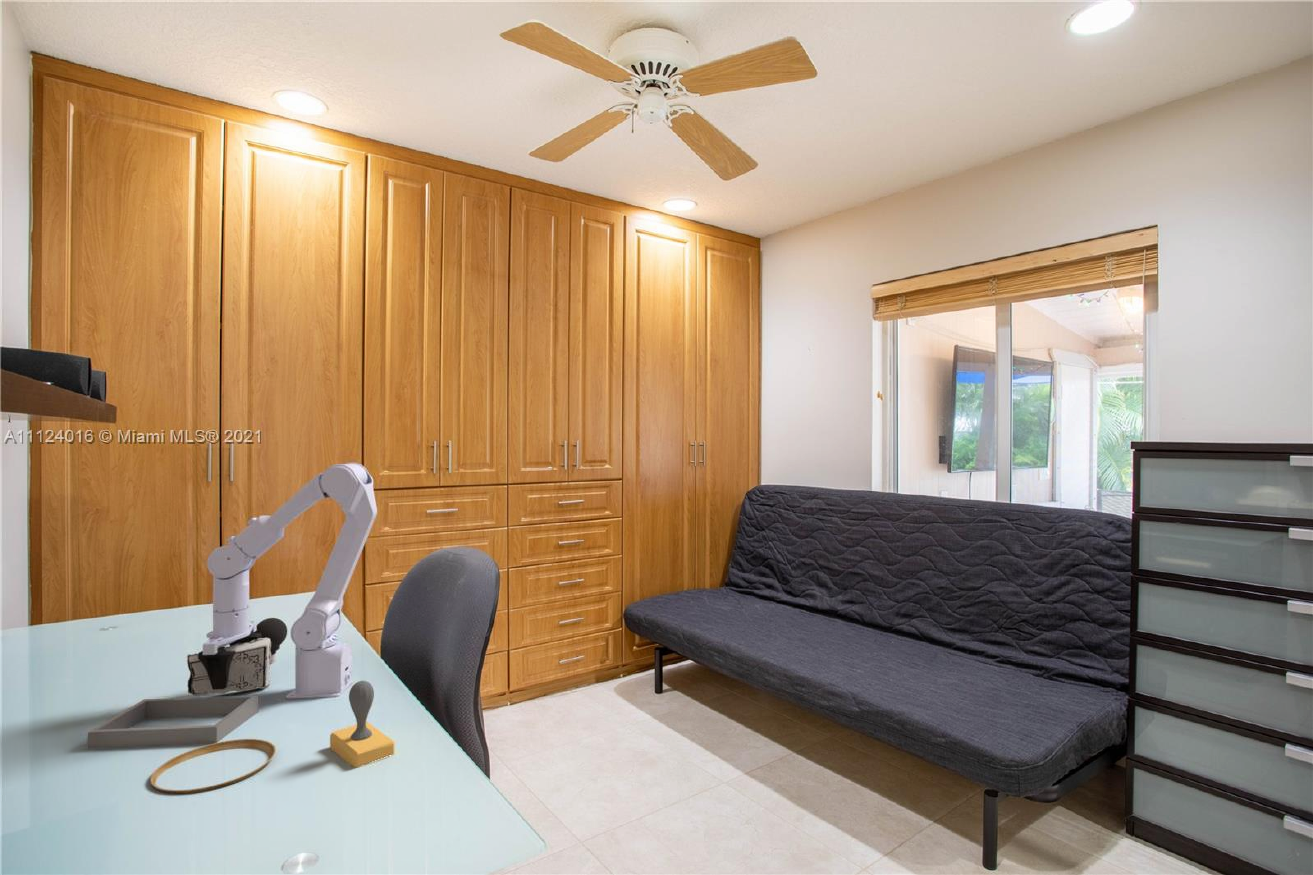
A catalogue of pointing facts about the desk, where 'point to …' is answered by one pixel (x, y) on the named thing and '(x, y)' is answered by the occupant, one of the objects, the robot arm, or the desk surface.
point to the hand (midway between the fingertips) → (231, 680)
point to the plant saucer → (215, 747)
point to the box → (122, 735)
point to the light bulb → (272, 634)
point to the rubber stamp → (361, 731)
